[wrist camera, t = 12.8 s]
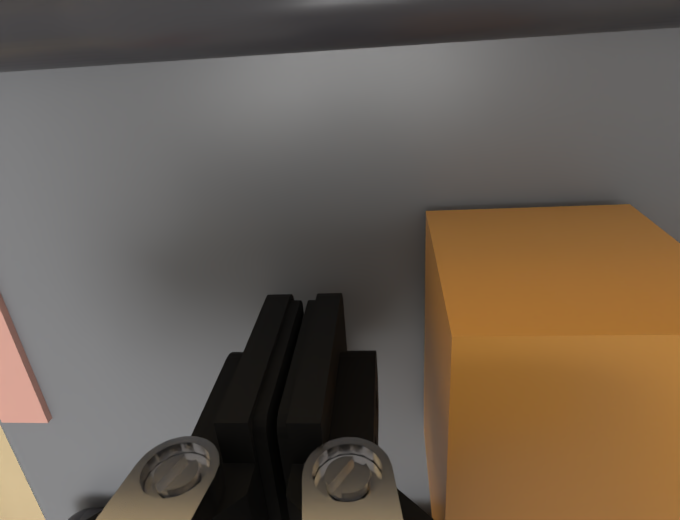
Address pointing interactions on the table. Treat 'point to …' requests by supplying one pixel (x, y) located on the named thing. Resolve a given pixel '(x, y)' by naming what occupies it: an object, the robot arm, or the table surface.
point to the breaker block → (282, 190)
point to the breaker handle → (551, 364)
